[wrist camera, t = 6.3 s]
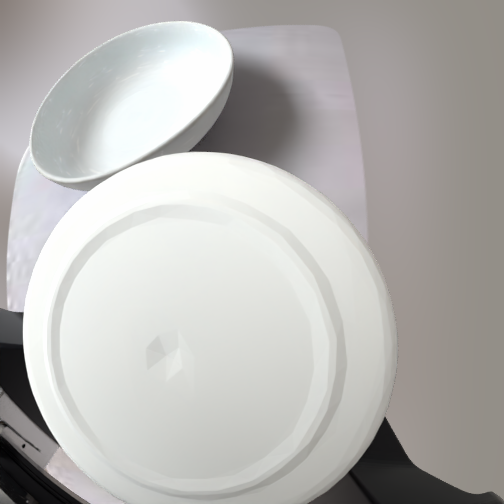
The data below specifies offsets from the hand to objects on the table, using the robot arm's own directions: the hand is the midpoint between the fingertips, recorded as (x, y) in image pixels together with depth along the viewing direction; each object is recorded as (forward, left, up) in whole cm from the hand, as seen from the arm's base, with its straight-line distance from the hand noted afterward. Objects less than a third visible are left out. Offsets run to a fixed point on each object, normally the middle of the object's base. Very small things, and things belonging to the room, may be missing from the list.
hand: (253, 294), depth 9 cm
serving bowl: (+13, +18, -12) cm, 25 cm away
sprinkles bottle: (-1, 0, -7) cm, 7 cm away
